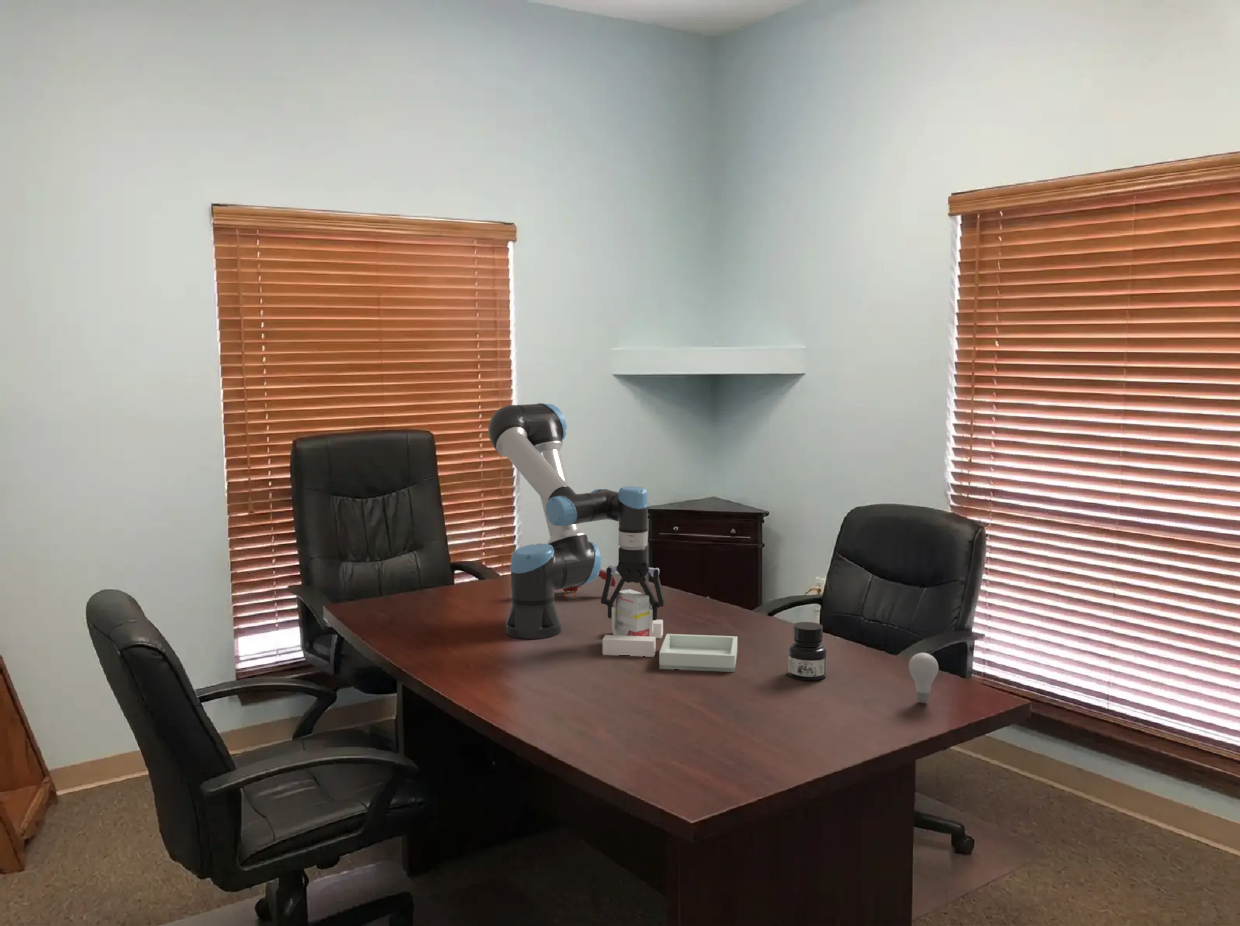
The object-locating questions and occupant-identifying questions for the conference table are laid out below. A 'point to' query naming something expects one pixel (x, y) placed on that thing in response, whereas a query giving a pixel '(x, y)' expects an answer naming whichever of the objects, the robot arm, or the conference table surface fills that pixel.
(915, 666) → the lightbulb
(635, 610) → the ink box
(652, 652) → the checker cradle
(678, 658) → the pale green tray
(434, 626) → the conference table surface
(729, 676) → the conference table surface
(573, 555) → the robot arm
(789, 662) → the ink bottle
